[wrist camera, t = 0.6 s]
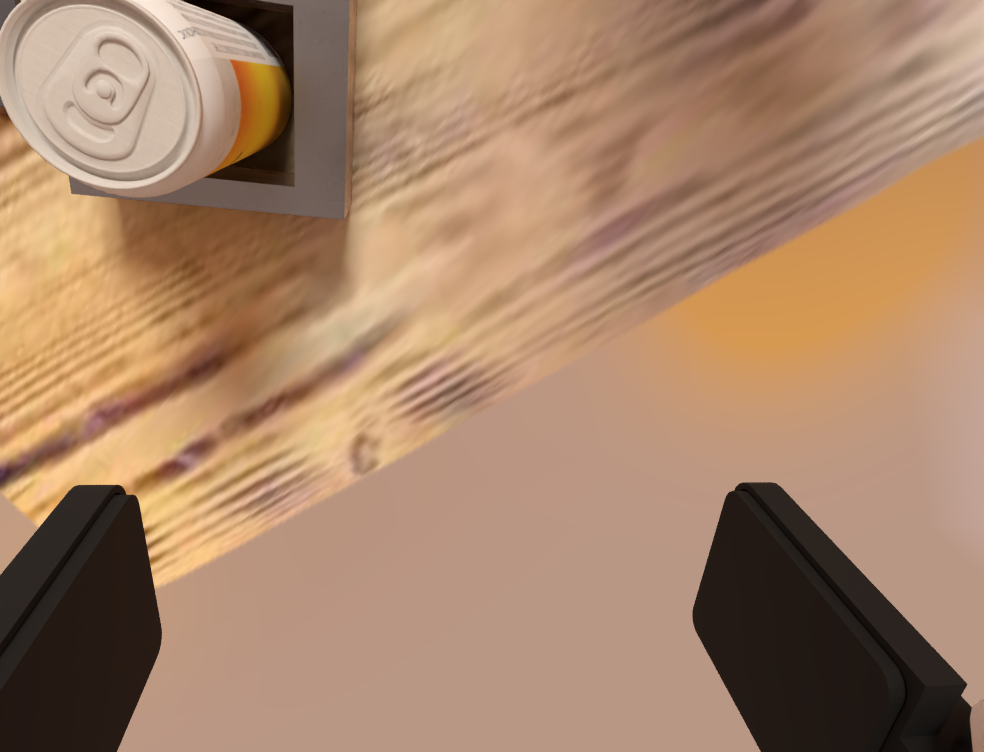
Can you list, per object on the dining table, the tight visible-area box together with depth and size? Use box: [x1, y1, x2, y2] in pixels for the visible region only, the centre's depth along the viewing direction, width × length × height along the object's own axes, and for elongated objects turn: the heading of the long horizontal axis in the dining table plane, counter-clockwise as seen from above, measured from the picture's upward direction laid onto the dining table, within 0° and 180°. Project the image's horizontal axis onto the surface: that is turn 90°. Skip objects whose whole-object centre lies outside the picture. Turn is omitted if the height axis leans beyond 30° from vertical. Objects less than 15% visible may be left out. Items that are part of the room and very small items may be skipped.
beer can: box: [0, 0, 292, 197], centre depth 24 cm, size 6×6×15 cm
